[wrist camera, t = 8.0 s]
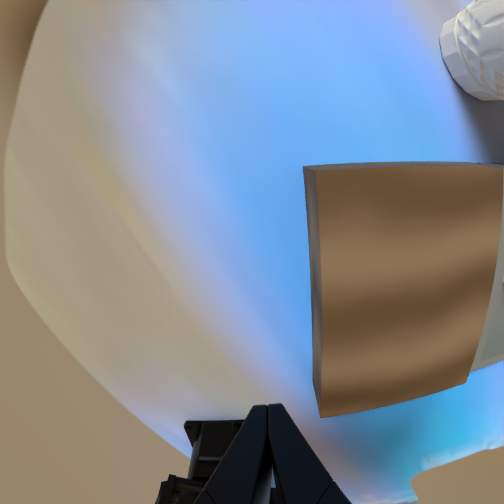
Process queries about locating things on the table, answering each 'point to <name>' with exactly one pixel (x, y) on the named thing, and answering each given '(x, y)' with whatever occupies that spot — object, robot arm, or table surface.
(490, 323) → the box
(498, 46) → the white cup
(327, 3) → the table surface
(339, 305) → the plate
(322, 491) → the robot arm
